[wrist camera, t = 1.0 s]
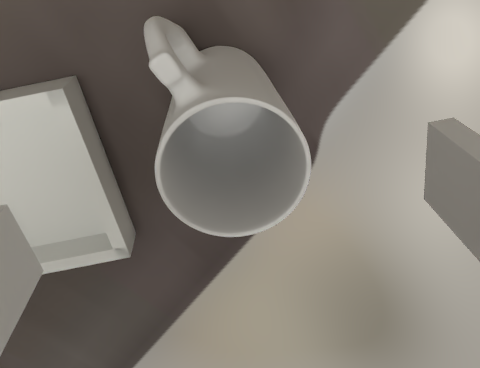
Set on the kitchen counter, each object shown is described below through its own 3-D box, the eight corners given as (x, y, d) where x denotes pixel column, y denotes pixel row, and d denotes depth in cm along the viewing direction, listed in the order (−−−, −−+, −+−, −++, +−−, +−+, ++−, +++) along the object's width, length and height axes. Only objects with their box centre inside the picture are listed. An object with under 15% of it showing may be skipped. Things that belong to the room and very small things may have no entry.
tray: (-44, 268, 33) (-65, 295, 31) (-147, 120, 27) (-184, 138, 24) (136, 233, 33) (130, 257, 30) (75, 75, 27) (62, 88, 24)
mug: (288, 106, 29) (337, 191, 18) (209, 154, 30) (213, 260, 20) (208, -31, 24) (212, -19, 14) (119, 33, 26) (62, 88, 15)
